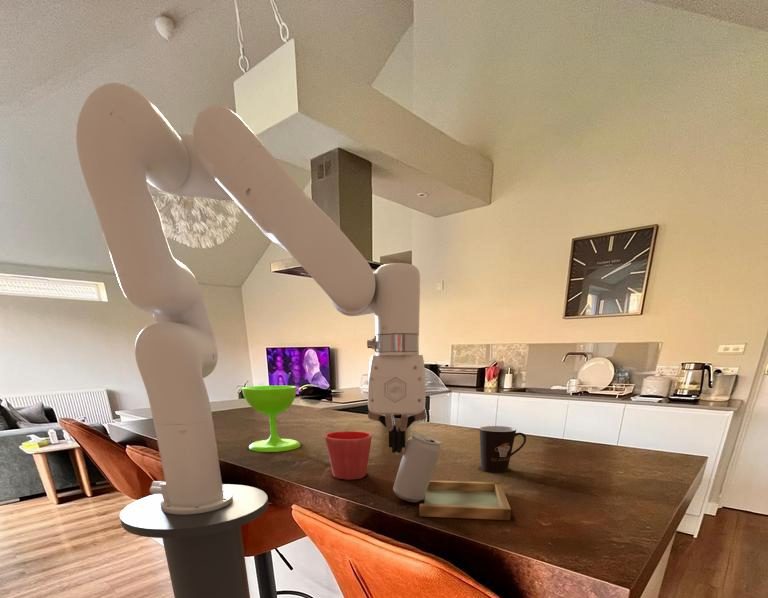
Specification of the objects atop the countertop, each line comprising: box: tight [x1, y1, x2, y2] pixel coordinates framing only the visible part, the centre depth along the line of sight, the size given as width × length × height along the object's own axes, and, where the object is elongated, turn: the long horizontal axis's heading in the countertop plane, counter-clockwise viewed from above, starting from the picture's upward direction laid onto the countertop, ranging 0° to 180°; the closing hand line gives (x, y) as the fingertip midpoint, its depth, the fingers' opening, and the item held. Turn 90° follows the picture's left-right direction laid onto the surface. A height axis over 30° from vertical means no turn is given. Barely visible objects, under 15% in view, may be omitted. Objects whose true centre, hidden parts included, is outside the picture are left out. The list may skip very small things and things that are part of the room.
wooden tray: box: [418, 479, 512, 521], centre depth 80 cm, size 16×16×2 cm
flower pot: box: [324, 430, 372, 481], centre depth 98 cm, size 11×11×10 cm
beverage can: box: [392, 432, 442, 503], centre depth 80 cm, size 6×6×12 cm
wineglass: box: [241, 385, 302, 453], centre depth 130 cm, size 16×16×18 cm
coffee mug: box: [479, 425, 527, 473], centre depth 103 cm, size 12×9×10 cm
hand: (397, 451), depth 79 cm, fingers closed
